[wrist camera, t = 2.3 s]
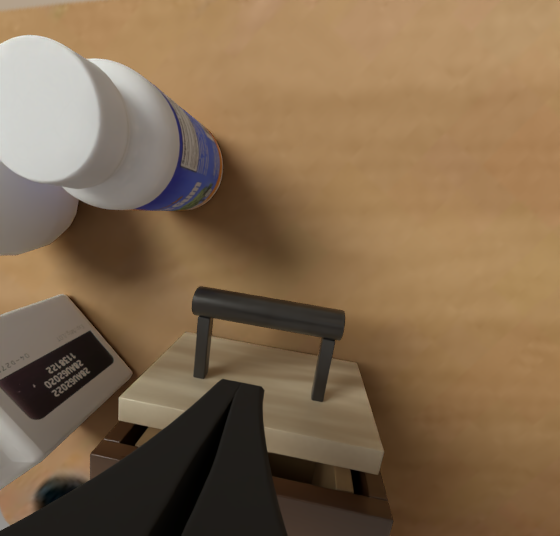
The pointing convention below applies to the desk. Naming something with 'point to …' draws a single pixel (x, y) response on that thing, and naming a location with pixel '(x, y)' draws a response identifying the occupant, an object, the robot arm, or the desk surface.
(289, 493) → the cabinet
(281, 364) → the drawer
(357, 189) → the desk surface
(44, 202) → the white ball
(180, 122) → the pill bottle
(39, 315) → the container
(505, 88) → the desk surface
